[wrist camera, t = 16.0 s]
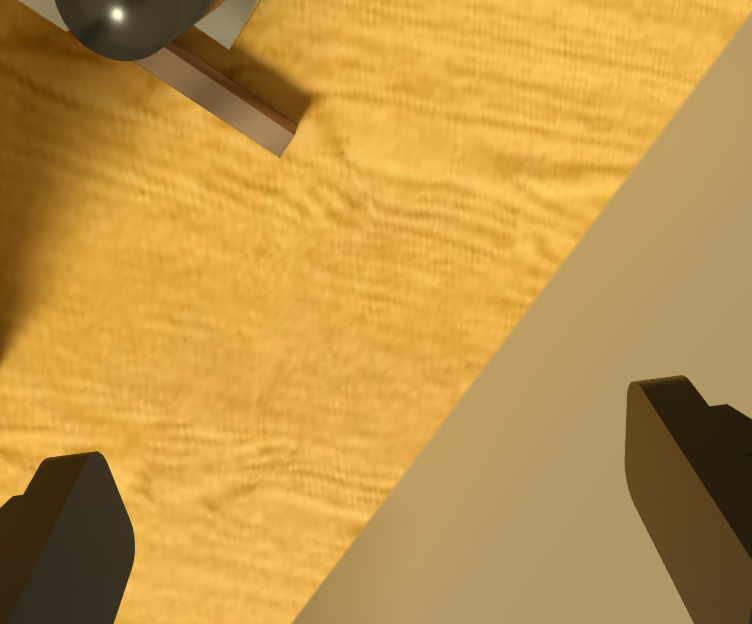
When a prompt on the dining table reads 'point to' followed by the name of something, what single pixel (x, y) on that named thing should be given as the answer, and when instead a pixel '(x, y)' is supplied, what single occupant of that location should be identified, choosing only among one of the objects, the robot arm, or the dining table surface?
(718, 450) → the robot arm
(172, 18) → the sliding jaw
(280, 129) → the press frame
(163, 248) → the dining table surface
